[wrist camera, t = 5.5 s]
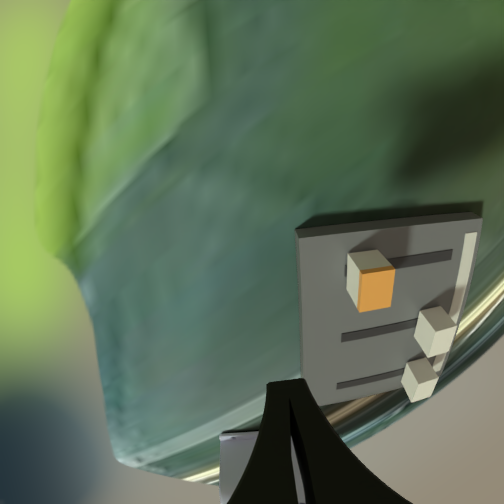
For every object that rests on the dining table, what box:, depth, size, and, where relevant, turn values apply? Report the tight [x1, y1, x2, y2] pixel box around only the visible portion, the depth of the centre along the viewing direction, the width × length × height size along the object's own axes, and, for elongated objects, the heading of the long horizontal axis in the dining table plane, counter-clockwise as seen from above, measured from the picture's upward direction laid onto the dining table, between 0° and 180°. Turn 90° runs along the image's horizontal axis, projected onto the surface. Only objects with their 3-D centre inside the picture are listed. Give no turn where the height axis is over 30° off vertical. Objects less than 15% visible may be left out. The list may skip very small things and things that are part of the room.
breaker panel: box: [295, 212, 483, 406], centre depth 20 cm, size 14×16×4 cm
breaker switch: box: [346, 250, 395, 313], centre depth 17 cm, size 2×2×3 cm
